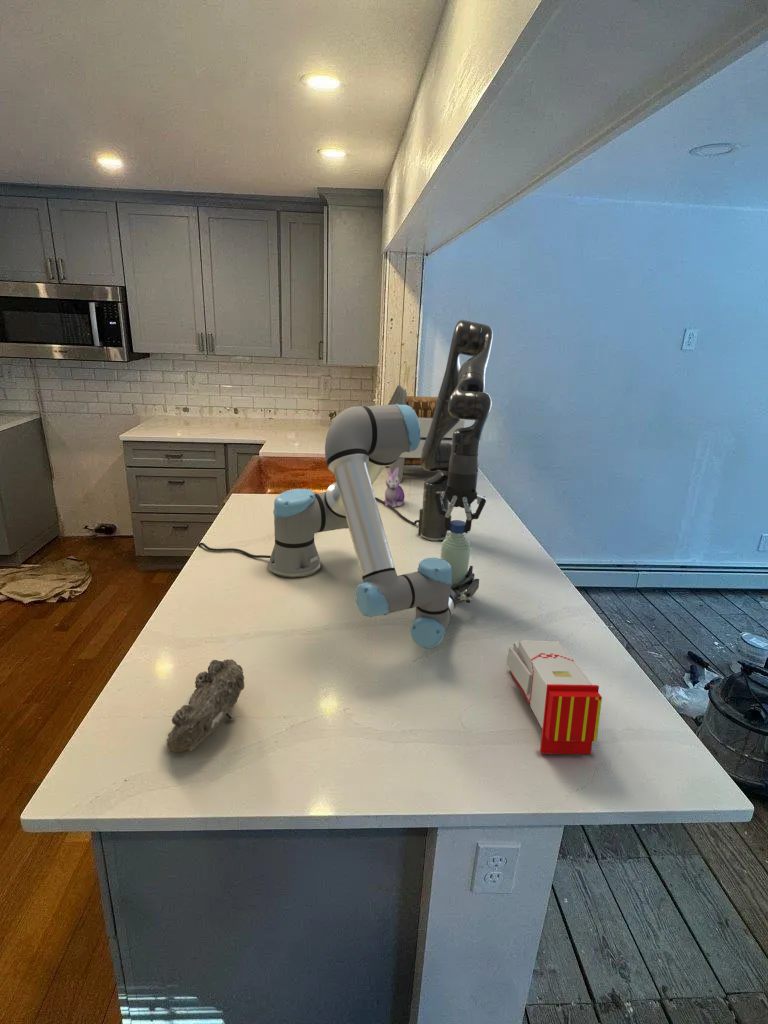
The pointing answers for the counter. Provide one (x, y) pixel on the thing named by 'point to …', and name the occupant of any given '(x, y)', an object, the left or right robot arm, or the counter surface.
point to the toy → (557, 696)
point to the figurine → (393, 489)
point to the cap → (457, 526)
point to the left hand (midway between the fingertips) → (456, 567)
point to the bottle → (456, 556)
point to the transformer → (425, 413)
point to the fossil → (206, 705)
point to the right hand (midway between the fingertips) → (457, 530)
